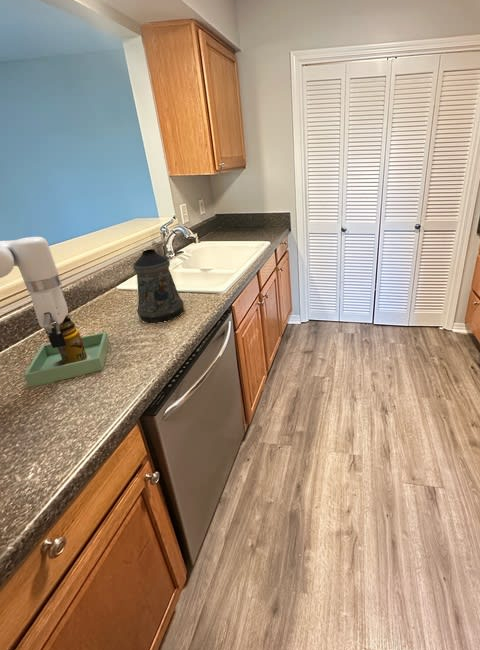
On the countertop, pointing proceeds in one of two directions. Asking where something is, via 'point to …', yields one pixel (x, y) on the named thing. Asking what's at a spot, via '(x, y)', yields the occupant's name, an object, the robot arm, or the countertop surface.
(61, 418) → the countertop surface
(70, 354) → the condiment
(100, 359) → the tray
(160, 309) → the beer stein
